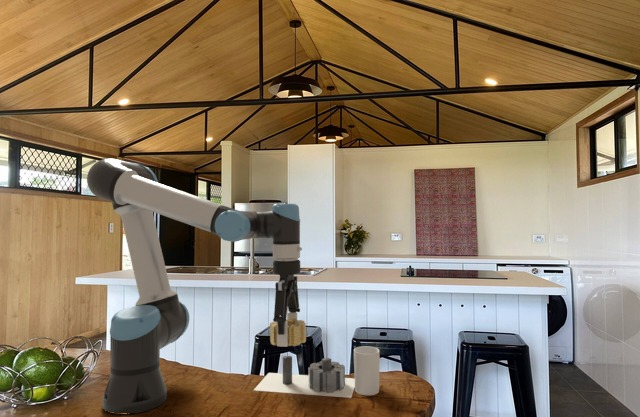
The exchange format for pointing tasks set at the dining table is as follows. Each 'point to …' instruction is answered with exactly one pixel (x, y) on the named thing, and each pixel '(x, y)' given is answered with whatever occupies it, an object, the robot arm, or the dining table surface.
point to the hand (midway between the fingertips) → (287, 340)
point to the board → (300, 381)
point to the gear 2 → (326, 377)
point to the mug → (366, 370)
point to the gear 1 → (290, 332)
